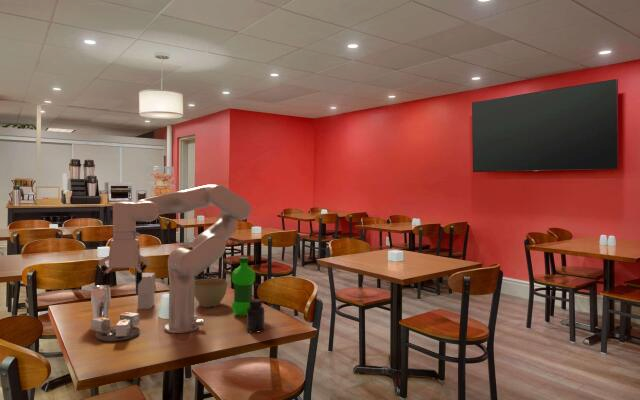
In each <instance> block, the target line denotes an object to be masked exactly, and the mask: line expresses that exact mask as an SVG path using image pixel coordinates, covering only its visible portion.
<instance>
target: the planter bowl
mask: <svg viewBox="0 0 640 400" xmlns="http://www.w3.org/2000/svg"><path fill="white" fill-rule="evenodd" d="M228 284H229V283H228V280H226V279H223V278H201V279H196V280H195V292H194V298H195V299H196V301H197V302H198V304H199V306H200V307H204V308H212V307H211V306H214V307H218V306H220V305H221V302H222V301H223V300H224V298H225V296H226V293H227V289H228ZM219 304H220V305H219ZM217 305H218V306H217Z"/></svg>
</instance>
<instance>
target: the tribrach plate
mask: <svg viewBox="0 0 640 400" xmlns="http://www.w3.org/2000/svg"><path fill="white" fill-rule="evenodd" d="M140 331H141V330H140V328H139V327H138V326H133V327H130V332H129V333H128V335H127V336H123V337H121V336H116V325H115V326H110V330H108V331H105V332H101V333H98V331H96V332H95V335H94V336H95V338H94V339H95V340H96V341H98V342H101V343H120V342H125V341H129V340H133V339H135V338H137V337H138V336H139V335H140Z"/></svg>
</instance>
